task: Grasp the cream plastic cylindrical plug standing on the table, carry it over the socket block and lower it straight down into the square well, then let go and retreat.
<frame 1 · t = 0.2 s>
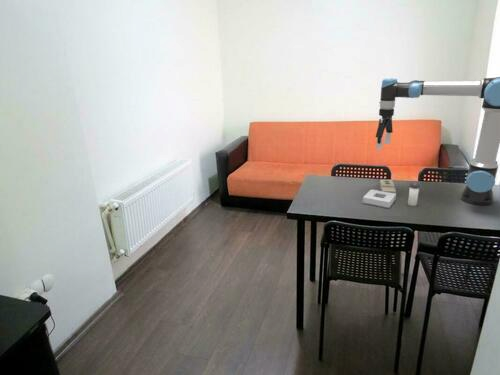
hand: (383, 146, 197), 28 cm above the table, fingers open, 13 cm apart
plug: (412, 204, 188), on the table
socket block: (379, 201, 193), on the table
electrical outlet: (387, 191, 209), on the table
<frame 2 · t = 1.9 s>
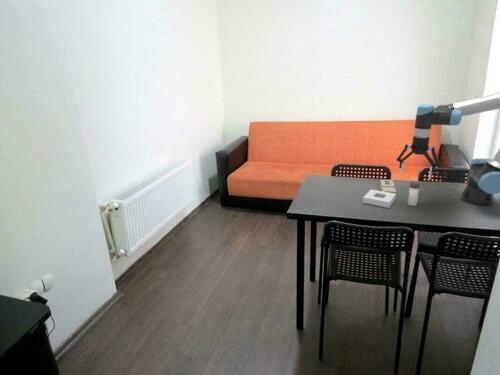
hand: (415, 176, 183), 16 cm above the table, fingers open, 13 cm apart
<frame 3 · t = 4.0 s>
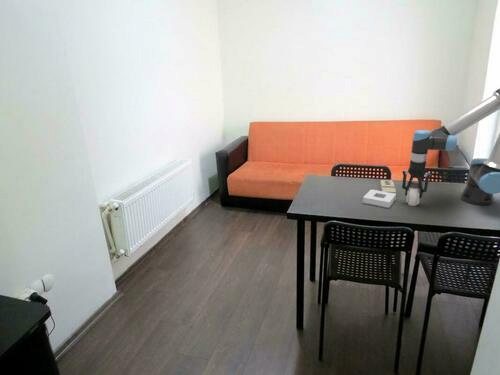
hand: (412, 202, 188), 1 cm above the table, fingers closed on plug, 4 cm apart
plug: (412, 204, 188), on the table, touching gripper
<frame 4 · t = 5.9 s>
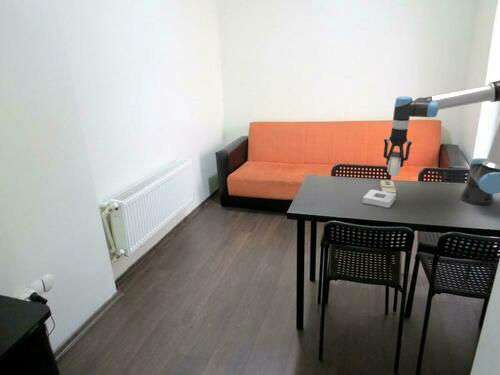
hand: (393, 171, 185), 18 cm above the table, fingers closed on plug, 4 cm apart
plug: (393, 174, 186), point 16 cm above the table, touching gripper
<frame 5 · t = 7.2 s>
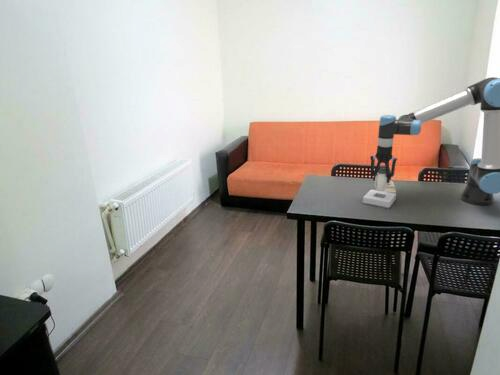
hand: (380, 187, 190), 8 cm above the table, fingers closed on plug, 4 cm apart
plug: (380, 189, 191), point 7 cm above the table, touching gripper
when the fingers open (5 cm above the table, at t = 8.1 s): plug drops 3 cm, resting on socket block.
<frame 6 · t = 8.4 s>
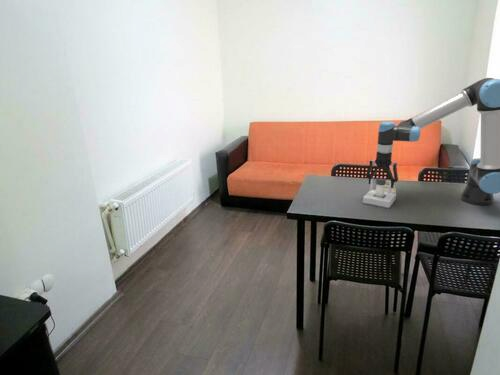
hand: (380, 191, 191), 6 cm above the table, fingers open, 9 cm apart
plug: (378, 200, 193), point 1 cm above the table, touching socket block
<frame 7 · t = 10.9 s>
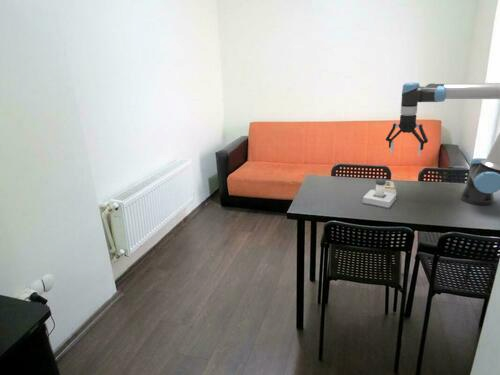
hand: (405, 154, 185), 26 cm above the table, fingers open, 13 cm apart
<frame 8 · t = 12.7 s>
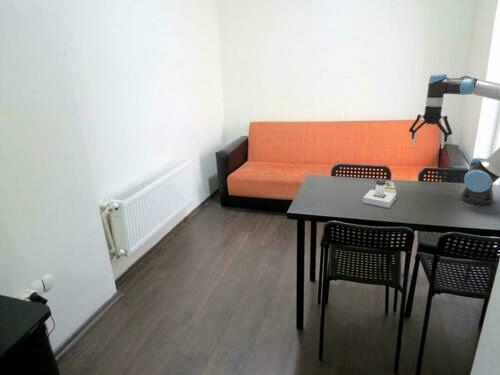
hand: (427, 146, 185), 30 cm above the table, fingers open, 13 cm apart
at the end: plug 0.3 cm off-centre on the socket block, point 0.6 cm above the socket block's base; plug tilted 0°; the gripper is holding nothing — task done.
